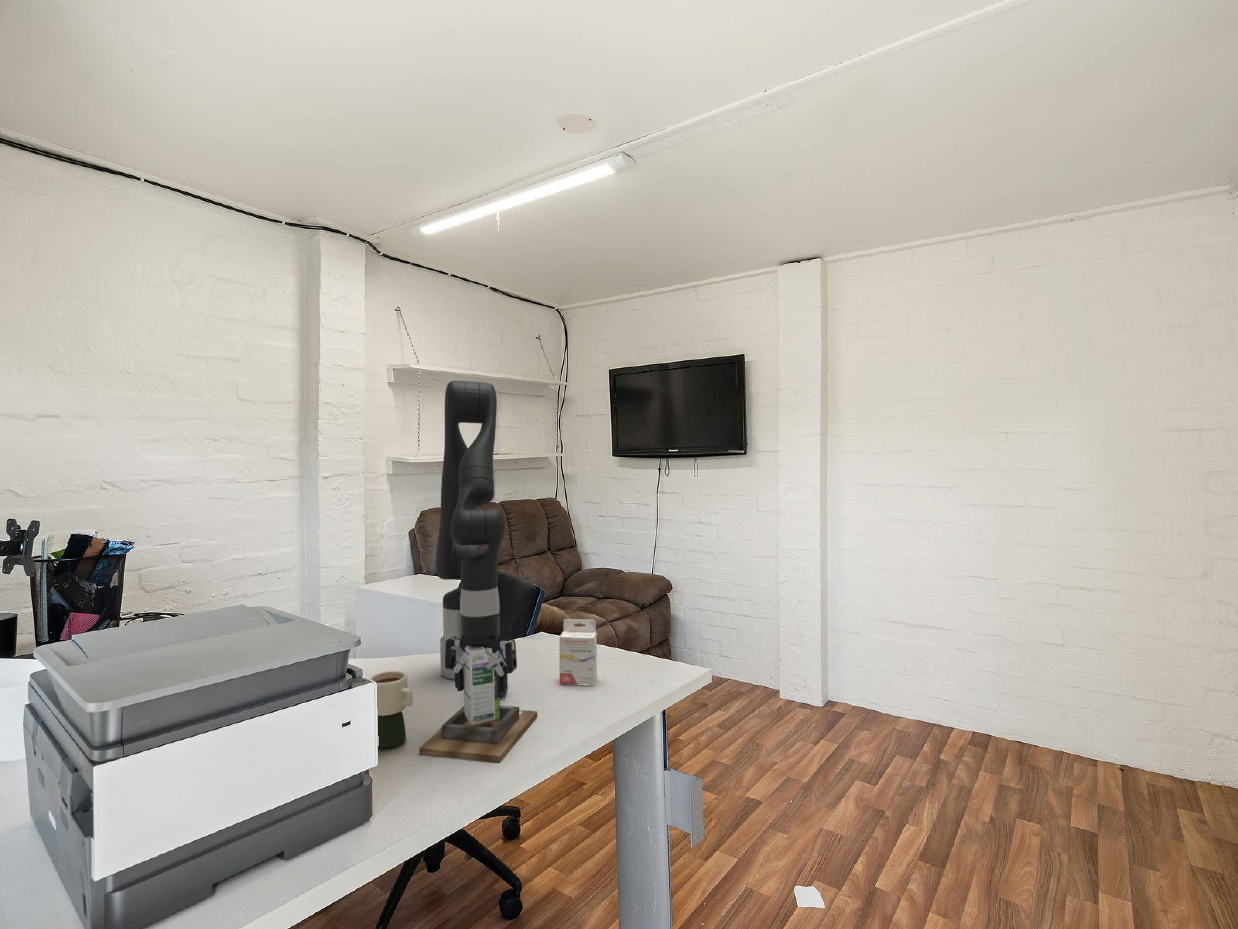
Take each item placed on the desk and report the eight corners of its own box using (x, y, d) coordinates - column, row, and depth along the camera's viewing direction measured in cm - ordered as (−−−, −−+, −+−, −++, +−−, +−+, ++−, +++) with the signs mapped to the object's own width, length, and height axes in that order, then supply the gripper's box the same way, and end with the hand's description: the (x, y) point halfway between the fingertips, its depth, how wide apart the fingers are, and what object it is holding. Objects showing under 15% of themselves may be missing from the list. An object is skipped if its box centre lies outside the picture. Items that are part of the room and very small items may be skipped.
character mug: (424, 739, 127) (423, 673, 127) (400, 756, 121) (398, 686, 120) (379, 731, 131) (377, 667, 131) (353, 747, 125) (351, 679, 124)
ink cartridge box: (559, 685, 155) (558, 624, 155) (562, 678, 160) (562, 618, 160) (594, 686, 154) (594, 624, 154) (597, 678, 159) (596, 619, 159)
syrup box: (471, 726, 125) (469, 651, 125) (463, 715, 131) (462, 643, 130) (500, 720, 128) (498, 646, 127) (491, 709, 133) (490, 638, 133)
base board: (419, 754, 121) (418, 734, 121) (466, 711, 141) (466, 694, 141) (499, 762, 118) (499, 742, 118) (537, 717, 137) (537, 699, 137)
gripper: (437, 613, 126) (439, 696, 127) (506, 616, 123) (508, 701, 124) (455, 604, 134) (456, 682, 134) (520, 606, 131) (522, 687, 131)
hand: (481, 691), depth 129 cm, fingers closed on syrup box, 8 cm apart
